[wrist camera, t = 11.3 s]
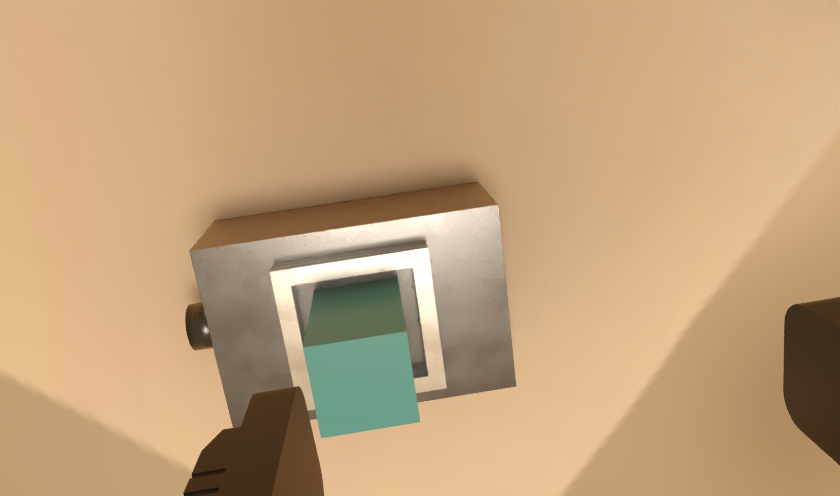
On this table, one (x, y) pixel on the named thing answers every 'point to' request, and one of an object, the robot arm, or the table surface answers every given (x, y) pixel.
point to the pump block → (359, 358)
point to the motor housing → (348, 264)
